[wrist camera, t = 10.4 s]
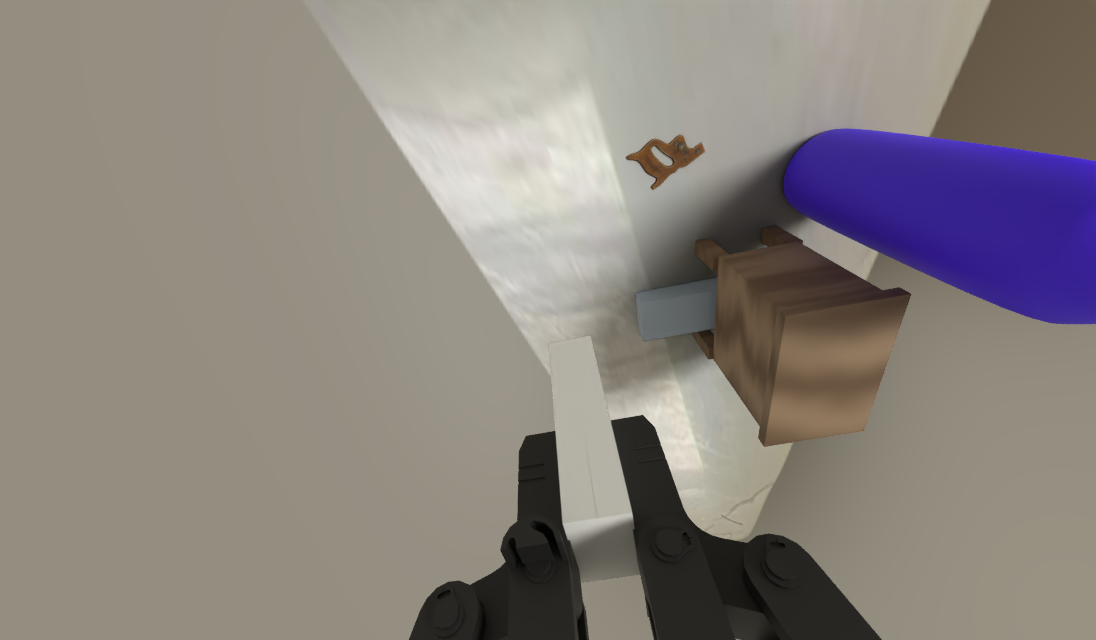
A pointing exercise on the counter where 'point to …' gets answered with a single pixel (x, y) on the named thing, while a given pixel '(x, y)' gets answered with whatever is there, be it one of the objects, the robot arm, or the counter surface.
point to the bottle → (961, 214)
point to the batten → (676, 309)
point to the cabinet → (799, 337)
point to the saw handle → (672, 149)
